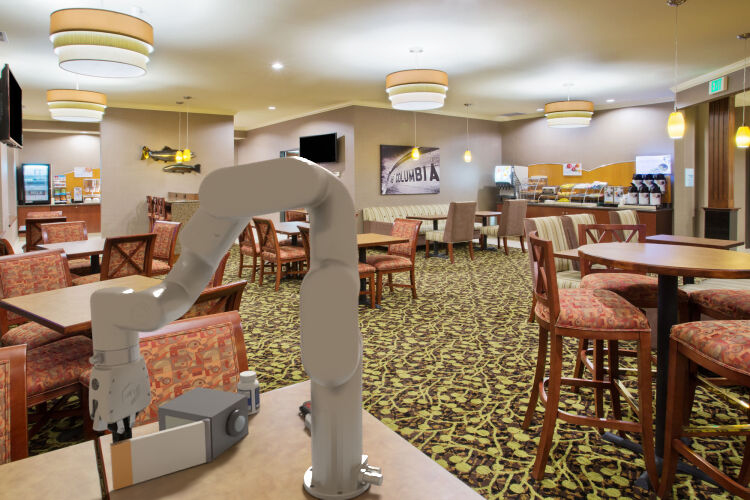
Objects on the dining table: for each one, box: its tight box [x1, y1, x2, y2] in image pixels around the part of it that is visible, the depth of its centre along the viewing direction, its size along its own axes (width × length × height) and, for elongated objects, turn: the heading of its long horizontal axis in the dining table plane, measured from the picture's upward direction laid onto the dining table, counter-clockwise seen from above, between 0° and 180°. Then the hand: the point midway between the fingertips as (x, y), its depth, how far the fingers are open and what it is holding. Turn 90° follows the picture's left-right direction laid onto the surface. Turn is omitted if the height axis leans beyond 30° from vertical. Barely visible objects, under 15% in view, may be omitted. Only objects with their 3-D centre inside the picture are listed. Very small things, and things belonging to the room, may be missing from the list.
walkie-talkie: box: [298, 399, 311, 433], centre depth 115 cm, size 9×4×20 cm
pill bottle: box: [236, 370, 261, 416], centre depth 122 cm, size 5×5×10 cm
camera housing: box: [157, 386, 249, 461], centre depth 107 cm, size 16×12×9 cm
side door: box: [109, 419, 213, 491], centre depth 94 cm, size 18×1×9 cm, turn 125°
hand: (123, 449), depth 92 cm, fingers closed
